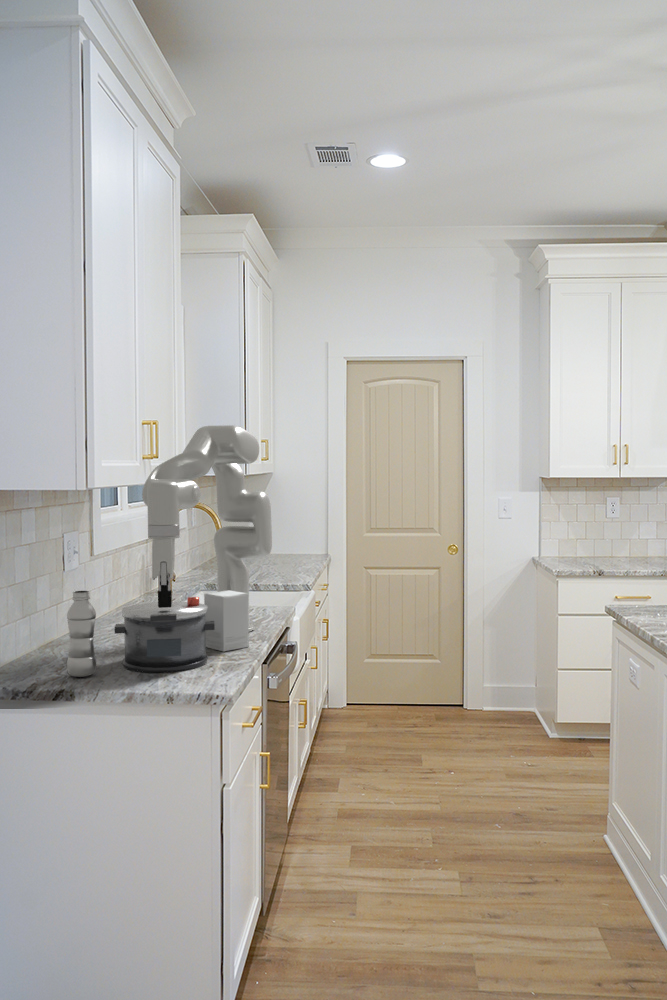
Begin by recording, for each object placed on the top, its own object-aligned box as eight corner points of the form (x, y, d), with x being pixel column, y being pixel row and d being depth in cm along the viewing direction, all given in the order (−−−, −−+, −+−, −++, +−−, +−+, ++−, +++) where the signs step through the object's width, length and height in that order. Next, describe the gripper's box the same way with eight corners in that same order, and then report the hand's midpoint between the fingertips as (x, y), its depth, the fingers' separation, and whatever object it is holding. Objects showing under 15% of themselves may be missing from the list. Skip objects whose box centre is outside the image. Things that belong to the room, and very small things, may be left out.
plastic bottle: (74, 672, 190) (72, 589, 189) (101, 673, 189) (100, 589, 188) (62, 679, 183) (60, 593, 183) (90, 680, 183) (89, 594, 182)
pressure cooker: (119, 654, 208) (119, 608, 208) (213, 650, 213) (213, 605, 212) (111, 675, 187) (110, 624, 186) (215, 670, 191) (215, 620, 191)
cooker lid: (125, 609, 207) (125, 595, 207) (206, 606, 211) (206, 593, 211) (117, 623, 184) (117, 608, 184) (208, 620, 188) (208, 605, 188)
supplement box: (250, 647, 217) (249, 592, 216) (223, 652, 211) (223, 596, 210) (230, 642, 223) (229, 589, 223) (203, 647, 217) (203, 592, 216)
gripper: (149, 529, 198) (150, 602, 199) (146, 535, 183) (147, 613, 184) (179, 528, 199) (181, 601, 200) (179, 534, 185) (180, 612, 186)
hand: (164, 606), depth 192 cm, fingers closed
